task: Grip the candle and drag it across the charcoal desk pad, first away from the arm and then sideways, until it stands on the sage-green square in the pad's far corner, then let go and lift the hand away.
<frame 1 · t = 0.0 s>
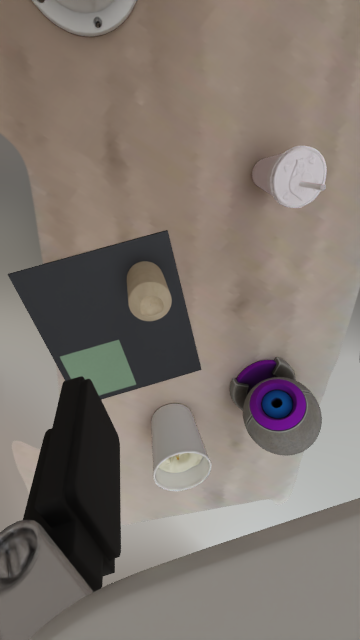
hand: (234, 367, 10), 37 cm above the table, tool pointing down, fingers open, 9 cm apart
candle holder: (171, 417, 62), on the table
webcam: (261, 383, 62), on the table
candle: (144, 277, 47), resting on desk pad
smoothie: (264, 172, 43), on the table
desk pad: (117, 328, 50), on the table
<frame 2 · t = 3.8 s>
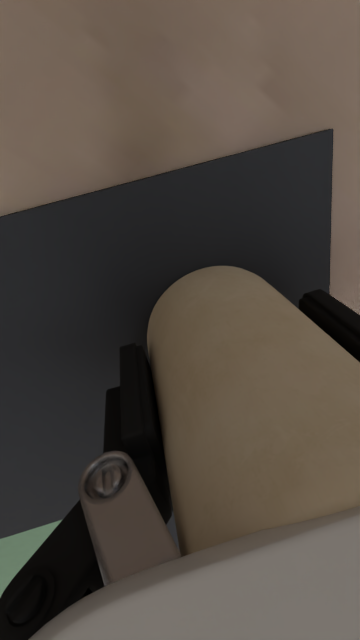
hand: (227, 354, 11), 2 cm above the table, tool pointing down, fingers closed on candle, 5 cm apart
candle: (212, 326, 13), resting on desk pad, touching gripper
desk pad: (114, 474, 16), on the table
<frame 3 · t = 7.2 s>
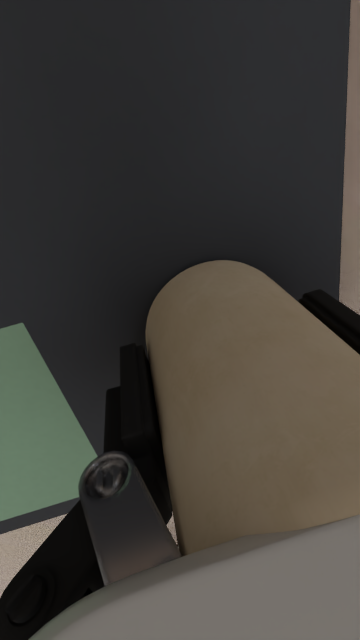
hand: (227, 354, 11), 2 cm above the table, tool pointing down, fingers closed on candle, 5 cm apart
candle: (212, 322, 12), resting on desk pad, touching gripper
desk pad: (10, 263, 10), on the table
when the fingers open (2 cm above the table, at t = 11.0 s): candle stays where it is, resting on desk pad.
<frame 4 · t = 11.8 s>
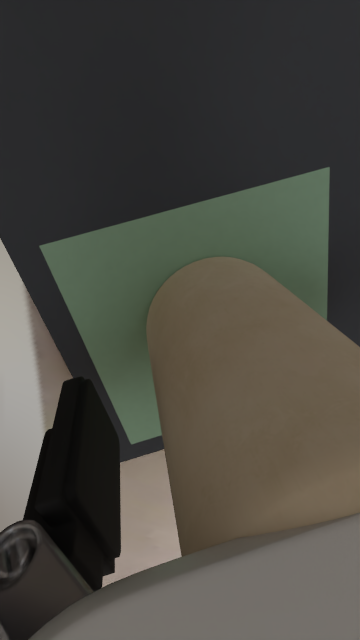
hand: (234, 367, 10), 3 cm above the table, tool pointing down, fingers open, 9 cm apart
candle: (212, 319, 13), resting on desk pad
desk pad: (342, 92, 10), on the table
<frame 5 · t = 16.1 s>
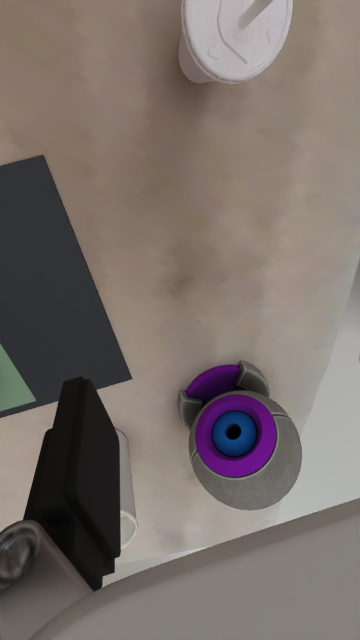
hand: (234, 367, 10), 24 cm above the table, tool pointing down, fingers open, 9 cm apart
candle holder: (98, 445, 45), on the table
webcam: (222, 397, 45), on the table
smoothie: (199, 56, 26), on the table
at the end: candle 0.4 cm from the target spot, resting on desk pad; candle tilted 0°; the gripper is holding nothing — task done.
